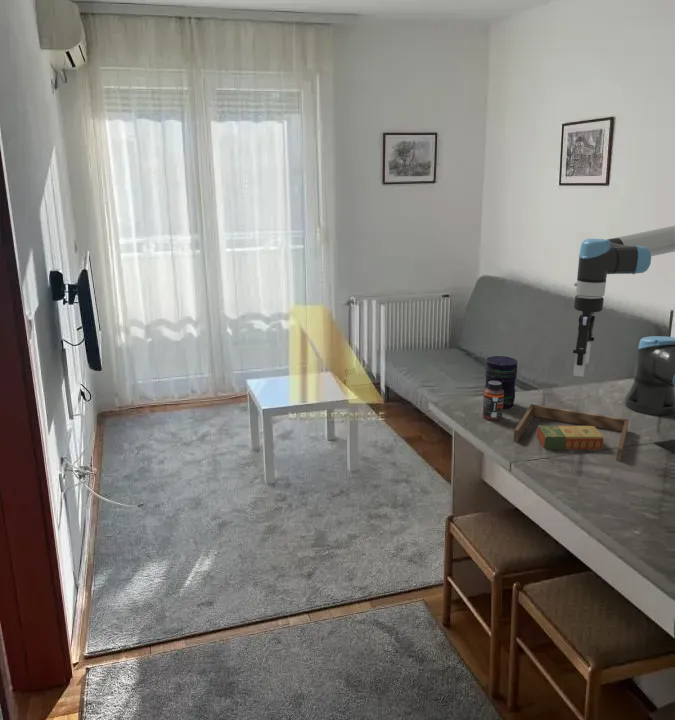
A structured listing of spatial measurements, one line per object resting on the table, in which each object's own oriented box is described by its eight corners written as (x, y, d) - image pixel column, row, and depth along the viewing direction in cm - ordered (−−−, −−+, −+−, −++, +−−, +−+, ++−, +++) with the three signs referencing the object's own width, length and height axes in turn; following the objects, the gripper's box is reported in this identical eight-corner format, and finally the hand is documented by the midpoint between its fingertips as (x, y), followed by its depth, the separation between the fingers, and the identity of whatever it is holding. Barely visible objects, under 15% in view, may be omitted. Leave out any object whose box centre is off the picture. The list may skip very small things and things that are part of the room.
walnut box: (627, 430, 198) (628, 419, 197) (620, 460, 178) (621, 448, 177) (530, 414, 210) (531, 404, 209) (513, 441, 190) (514, 429, 189)
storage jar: (491, 397, 225) (495, 354, 221) (519, 403, 219) (523, 359, 215) (477, 405, 218) (480, 361, 213) (505, 412, 212) (509, 367, 207)
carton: (602, 450, 185) (604, 436, 184) (543, 450, 186) (544, 435, 184) (592, 438, 193) (594, 424, 192) (536, 437, 193) (537, 424, 192)
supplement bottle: (498, 422, 204) (501, 386, 200) (479, 418, 207) (482, 383, 203) (504, 416, 209) (507, 381, 205) (485, 412, 212) (488, 378, 208)
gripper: (580, 287, 199) (572, 356, 205) (569, 303, 177) (561, 379, 183) (607, 289, 196) (599, 359, 202) (600, 305, 174) (590, 383, 180)
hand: (581, 369), depth 193 cm, fingers open, 13 cm apart
